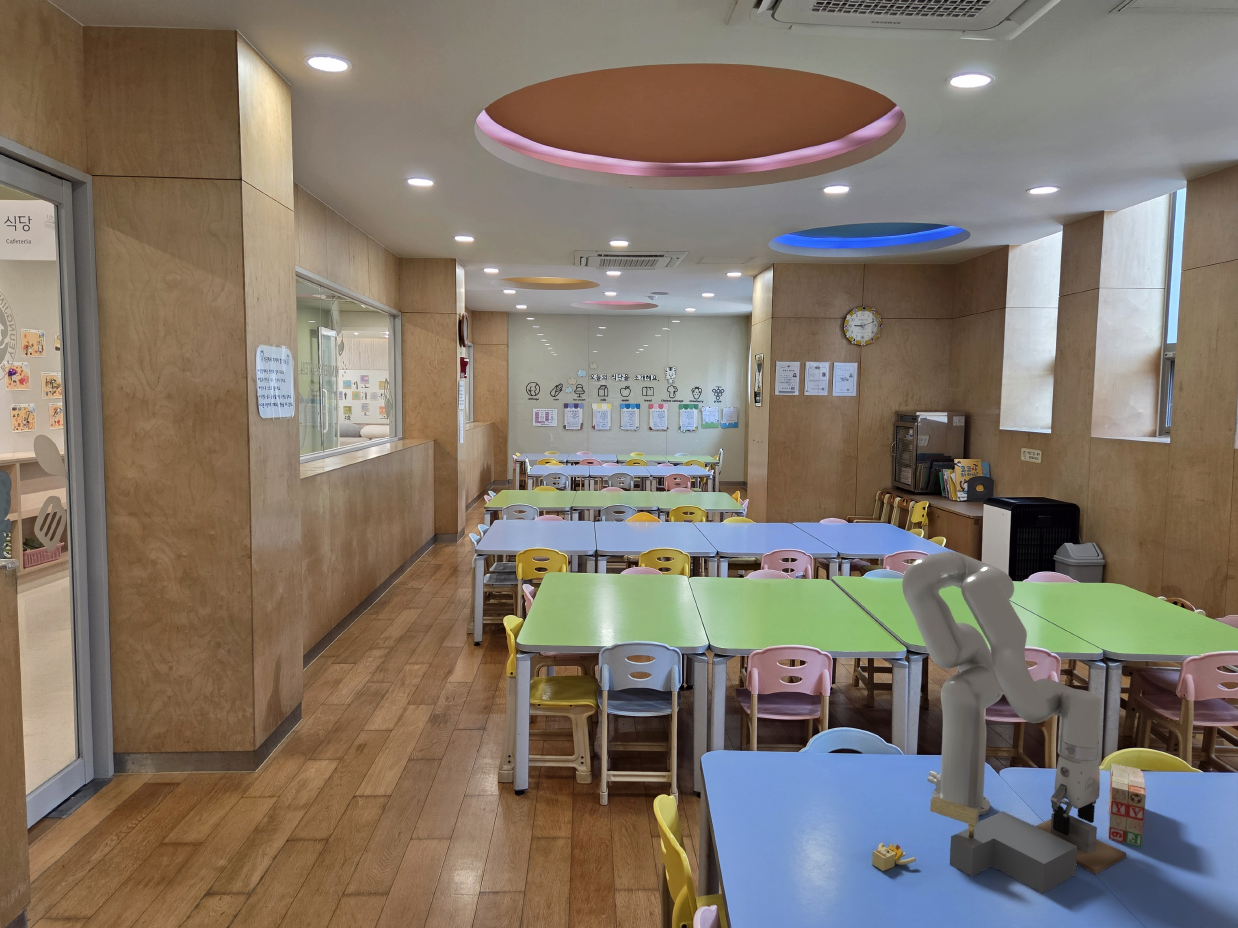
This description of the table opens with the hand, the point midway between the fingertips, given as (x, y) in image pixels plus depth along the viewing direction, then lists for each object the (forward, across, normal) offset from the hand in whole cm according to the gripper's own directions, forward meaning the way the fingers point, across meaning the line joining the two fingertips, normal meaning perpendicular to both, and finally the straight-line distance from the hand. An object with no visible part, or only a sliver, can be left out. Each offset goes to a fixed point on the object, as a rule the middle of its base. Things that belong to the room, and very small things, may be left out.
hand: (1073, 825), depth 170 cm
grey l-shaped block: (+5, -19, +2) cm, 20 cm away
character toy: (+5, -39, +15) cm, 42 cm away
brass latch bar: (-2, -27, +10) cm, 29 cm away
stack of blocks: (+5, +21, -1) cm, 22 cm away
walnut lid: (+5, 0, 0) cm, 5 cm away
